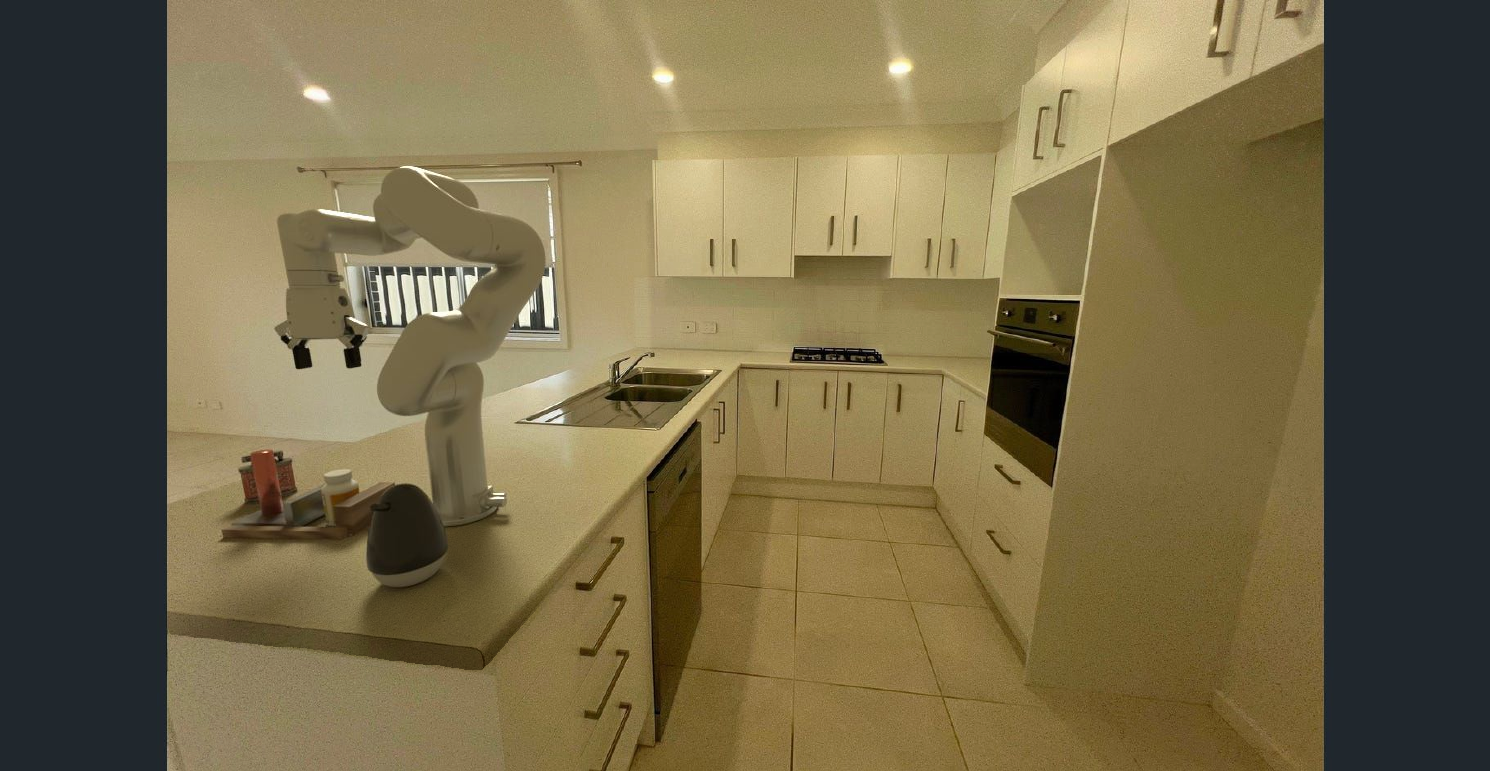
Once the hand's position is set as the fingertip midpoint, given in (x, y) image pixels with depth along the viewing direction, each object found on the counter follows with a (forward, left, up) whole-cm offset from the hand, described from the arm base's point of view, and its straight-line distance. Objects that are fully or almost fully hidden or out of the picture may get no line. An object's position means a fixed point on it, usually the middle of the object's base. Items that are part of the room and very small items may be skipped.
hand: (329, 367), depth 95 cm
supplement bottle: (-8, +10, -28) cm, 31 cm away
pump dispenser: (-33, +28, -28) cm, 52 cm away
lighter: (+16, 0, -28) cm, 33 cm away
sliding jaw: (+4, +10, -28) cm, 30 cm away
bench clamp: (-4, +10, -28) cm, 30 cm away
